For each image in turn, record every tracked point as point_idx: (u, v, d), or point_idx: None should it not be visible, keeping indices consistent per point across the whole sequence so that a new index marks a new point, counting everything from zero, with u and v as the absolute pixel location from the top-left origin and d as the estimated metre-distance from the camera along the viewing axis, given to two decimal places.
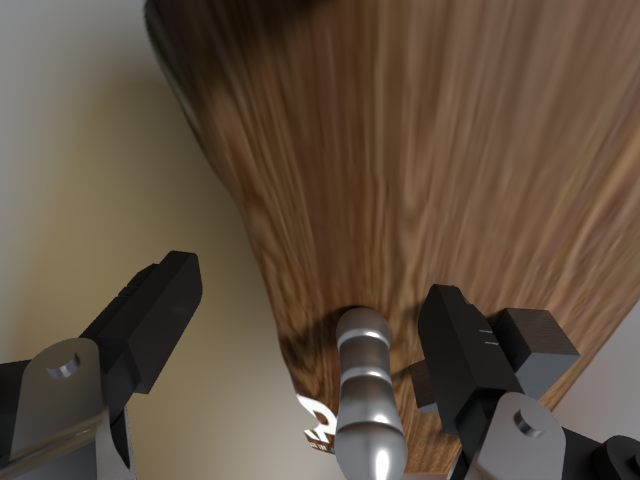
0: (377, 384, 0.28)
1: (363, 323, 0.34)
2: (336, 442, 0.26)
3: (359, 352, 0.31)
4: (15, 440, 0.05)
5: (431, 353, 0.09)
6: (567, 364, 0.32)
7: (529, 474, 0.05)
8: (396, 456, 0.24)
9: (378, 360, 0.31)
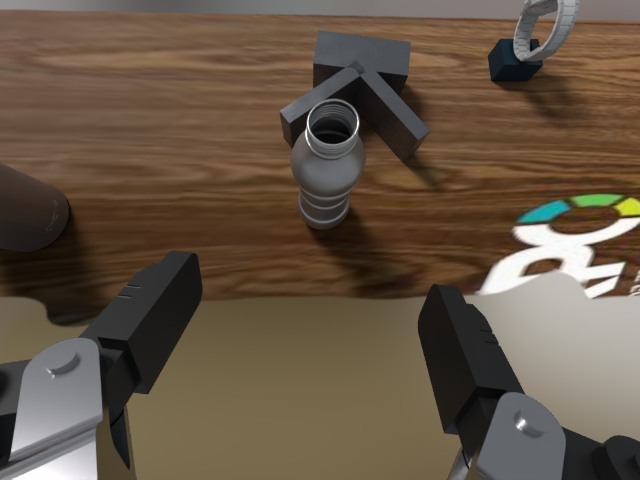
0: None
1: None
2: (312, 191, 0.25)
3: (301, 197, 0.33)
4: (15, 441, 0.05)
5: (431, 353, 0.09)
6: (330, 35, 0.38)
7: (529, 474, 0.05)
8: (305, 130, 0.25)
9: None
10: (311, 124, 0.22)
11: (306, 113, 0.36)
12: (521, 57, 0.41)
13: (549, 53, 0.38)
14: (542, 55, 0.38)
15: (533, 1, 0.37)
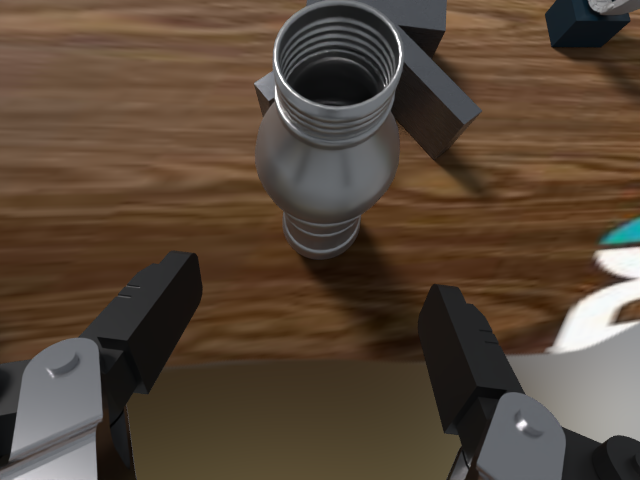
0: None
1: None
2: (296, 214, 0.13)
3: None
4: (15, 441, 0.05)
5: (431, 353, 0.09)
6: None
7: (529, 474, 0.05)
8: None
9: None
10: (288, 69, 0.10)
11: None
12: (603, 8, 0.28)
13: None
14: None
15: None
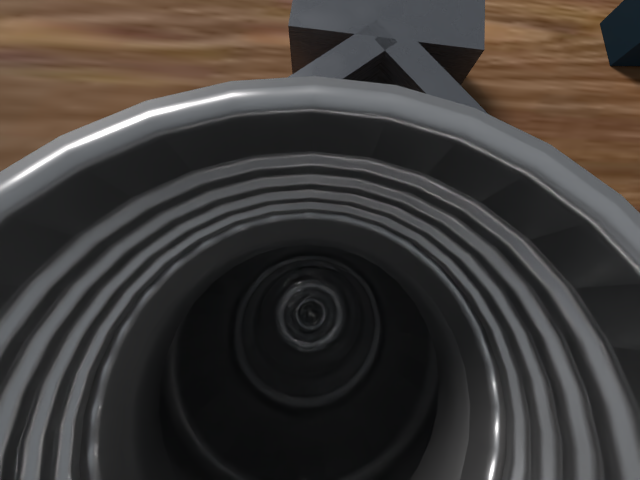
0: None
1: None
2: None
3: (253, 334, 0.14)
4: None
5: None
6: None
7: None
8: None
9: None
10: (113, 323, 0.02)
11: None
12: None
13: None
14: None
15: None
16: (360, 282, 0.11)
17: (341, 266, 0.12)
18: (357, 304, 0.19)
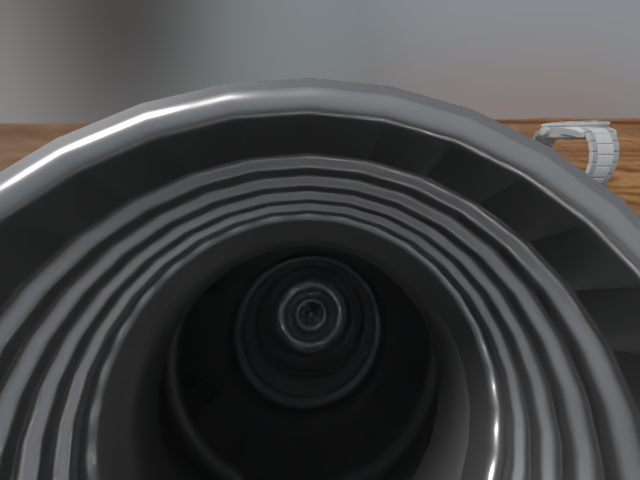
0: None
1: None
2: None
3: (254, 334, 0.14)
4: None
5: None
6: None
7: None
8: None
9: None
10: (111, 325, 0.02)
11: None
12: None
13: None
14: None
15: (552, 134, 0.27)
16: (360, 282, 0.11)
17: (341, 266, 0.12)
18: (357, 304, 0.19)
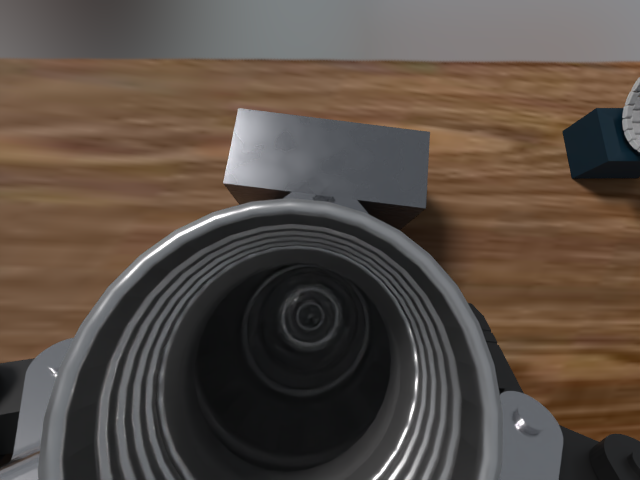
0: None
1: None
2: None
3: (257, 334, 0.15)
4: (18, 439, 0.05)
5: None
6: (262, 118, 0.18)
7: (527, 472, 0.05)
8: None
9: None
10: (173, 318, 0.04)
11: None
12: None
13: None
14: None
15: None
16: (352, 287, 0.13)
17: (335, 272, 0.13)
18: (353, 306, 0.20)
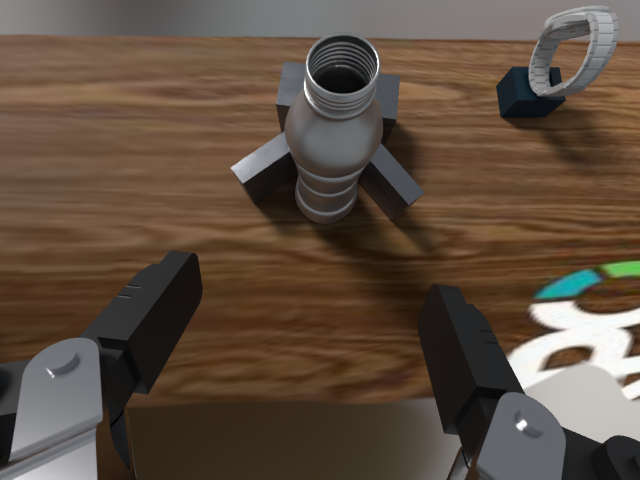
0: None
1: None
2: (313, 169, 0.19)
3: (300, 182, 0.27)
4: (16, 440, 0.05)
5: (431, 353, 0.09)
6: (298, 67, 0.30)
7: (529, 473, 0.05)
8: None
9: None
10: (312, 72, 0.16)
11: (266, 169, 0.28)
12: (539, 92, 0.33)
13: (576, 90, 0.30)
14: (567, 92, 0.30)
15: (556, 24, 0.29)
16: None
17: None
18: None
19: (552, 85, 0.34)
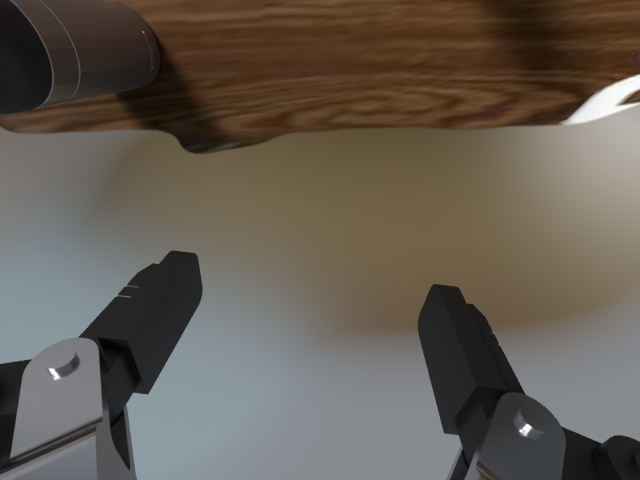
0: None
1: None
2: None
3: None
4: (15, 440, 0.05)
5: (431, 353, 0.09)
6: None
7: (529, 474, 0.05)
8: None
9: None
10: None
11: None
12: None
13: None
14: None
15: None
16: None
17: None
18: None
19: None
